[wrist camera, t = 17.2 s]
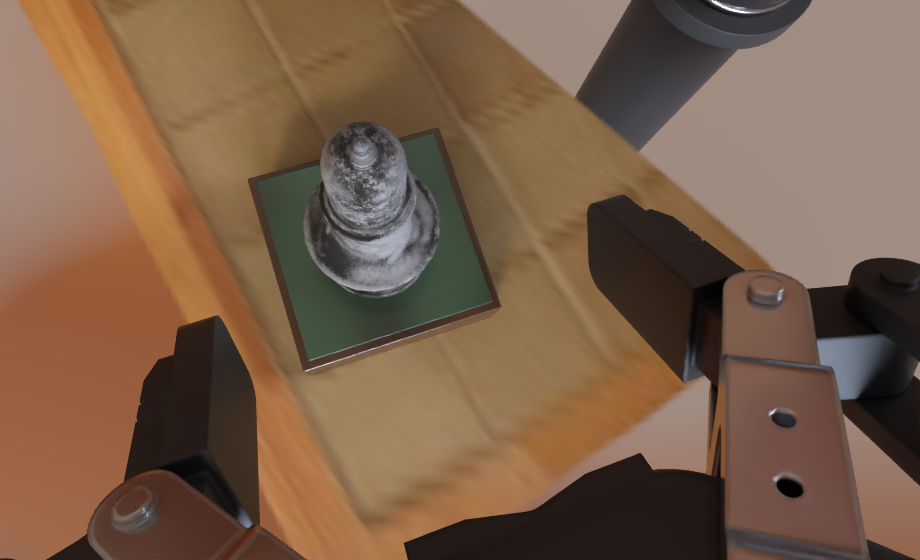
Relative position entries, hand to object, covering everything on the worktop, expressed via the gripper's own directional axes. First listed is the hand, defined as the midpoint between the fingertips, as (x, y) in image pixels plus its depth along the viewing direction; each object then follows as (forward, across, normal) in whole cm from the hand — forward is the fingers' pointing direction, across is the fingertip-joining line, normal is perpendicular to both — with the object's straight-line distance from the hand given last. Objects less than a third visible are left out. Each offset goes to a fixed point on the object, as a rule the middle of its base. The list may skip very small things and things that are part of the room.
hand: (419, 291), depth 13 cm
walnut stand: (+18, 0, +10) cm, 20 cm away
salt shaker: (+15, 0, +8) cm, 17 cm away
